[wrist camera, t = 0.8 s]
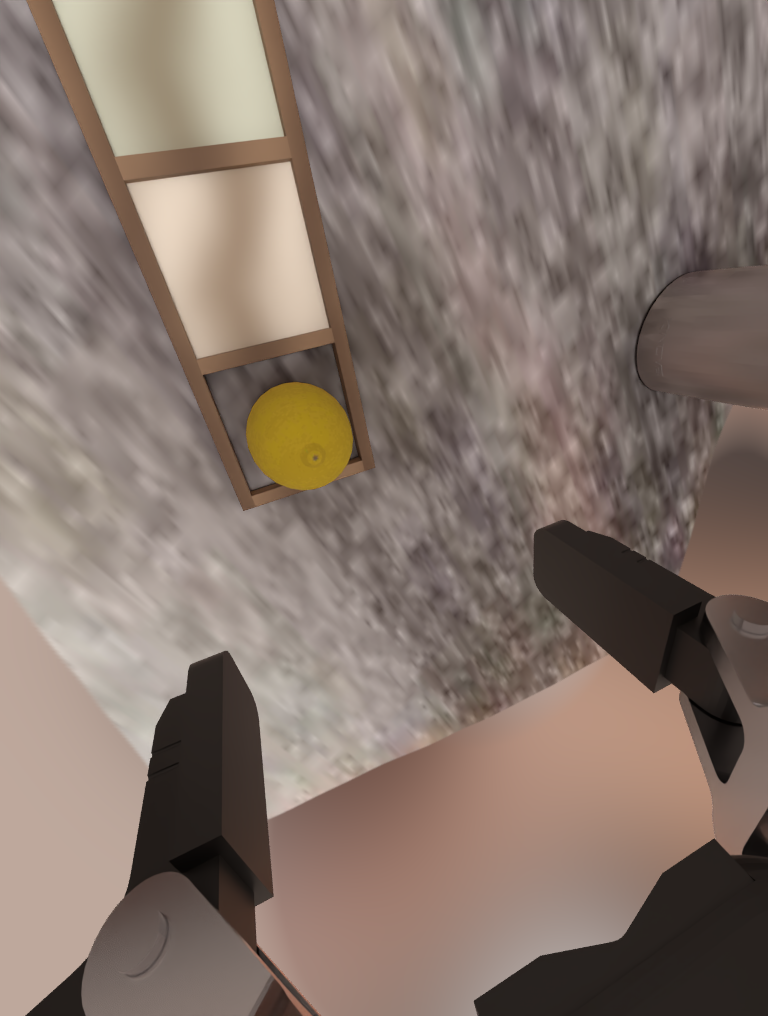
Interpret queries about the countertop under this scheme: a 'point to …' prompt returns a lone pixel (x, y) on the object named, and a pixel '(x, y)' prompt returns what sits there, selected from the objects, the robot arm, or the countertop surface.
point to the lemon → (299, 436)
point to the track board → (208, 185)
